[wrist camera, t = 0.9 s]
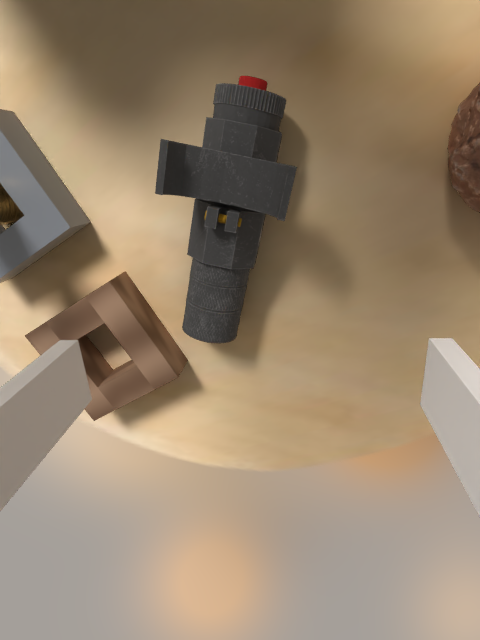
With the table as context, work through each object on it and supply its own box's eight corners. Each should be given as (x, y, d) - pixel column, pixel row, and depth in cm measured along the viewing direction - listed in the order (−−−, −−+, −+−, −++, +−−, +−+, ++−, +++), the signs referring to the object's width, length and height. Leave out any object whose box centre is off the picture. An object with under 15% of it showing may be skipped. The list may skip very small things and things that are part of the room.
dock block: (46, 322, 45) (24, 335, 42) (125, 271, 42) (109, 281, 38) (109, 401, 48) (94, 420, 45) (187, 360, 45) (178, 377, 41)
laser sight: (172, 309, 43) (139, 348, 34) (202, 76, 35) (170, 43, 25) (258, 329, 43) (249, 374, 34) (311, 97, 34) (318, 72, 25)
